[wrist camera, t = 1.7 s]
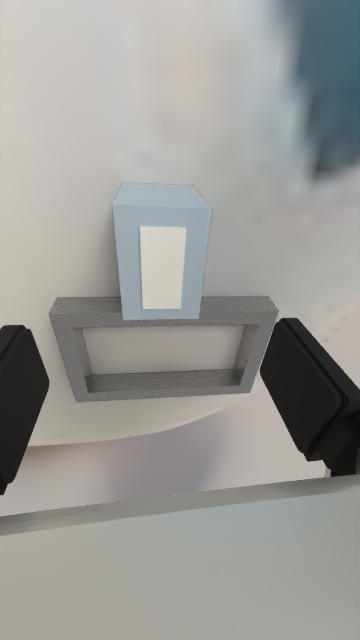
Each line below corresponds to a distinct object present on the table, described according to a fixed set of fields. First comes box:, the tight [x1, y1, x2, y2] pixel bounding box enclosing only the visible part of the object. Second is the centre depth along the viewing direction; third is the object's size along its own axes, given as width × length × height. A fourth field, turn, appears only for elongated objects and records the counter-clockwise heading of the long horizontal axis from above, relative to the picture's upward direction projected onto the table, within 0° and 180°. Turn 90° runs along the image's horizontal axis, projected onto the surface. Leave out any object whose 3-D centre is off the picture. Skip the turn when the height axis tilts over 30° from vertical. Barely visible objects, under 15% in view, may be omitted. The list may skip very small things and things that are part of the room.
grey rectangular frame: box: [49, 297, 279, 402], centre depth 26 cm, size 20×12×2 cm, turn 86°
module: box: [112, 182, 213, 320], centre depth 17 cm, size 5×7×7 cm
